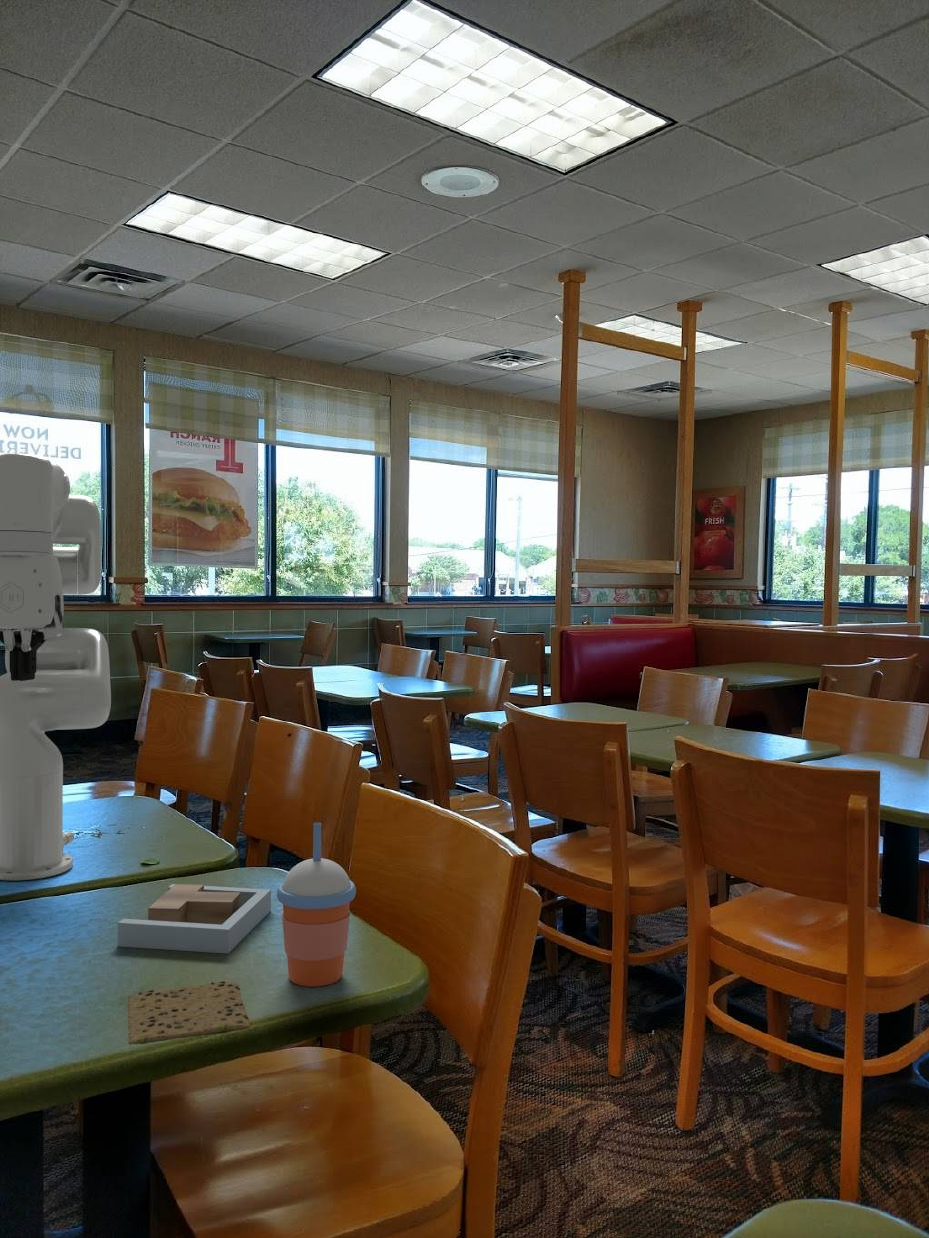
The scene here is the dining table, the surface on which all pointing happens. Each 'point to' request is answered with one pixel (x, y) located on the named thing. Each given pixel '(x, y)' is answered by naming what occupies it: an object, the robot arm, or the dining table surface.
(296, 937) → the cup with straw
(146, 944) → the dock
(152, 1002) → the cookie
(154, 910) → the t block
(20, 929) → the dining table surface
